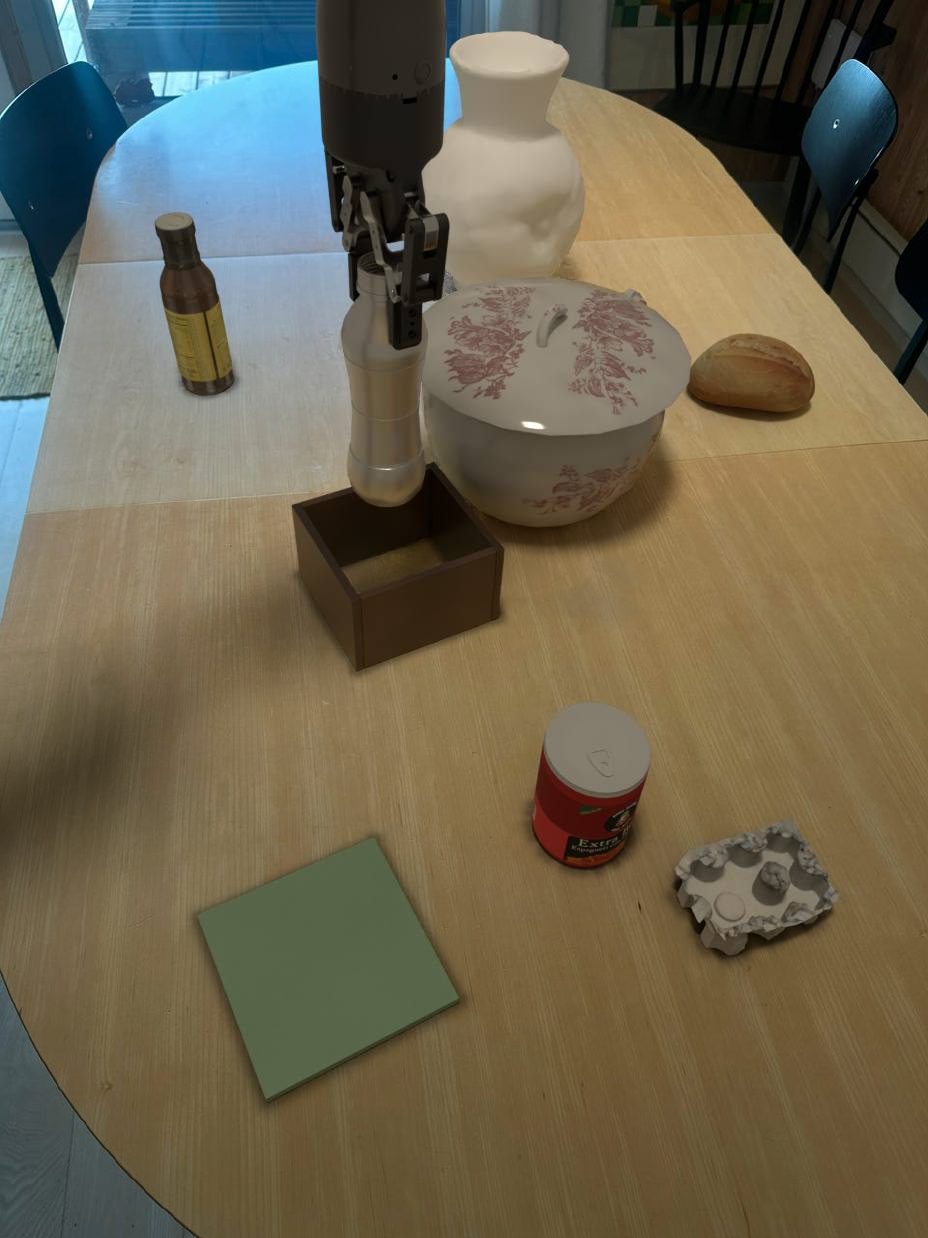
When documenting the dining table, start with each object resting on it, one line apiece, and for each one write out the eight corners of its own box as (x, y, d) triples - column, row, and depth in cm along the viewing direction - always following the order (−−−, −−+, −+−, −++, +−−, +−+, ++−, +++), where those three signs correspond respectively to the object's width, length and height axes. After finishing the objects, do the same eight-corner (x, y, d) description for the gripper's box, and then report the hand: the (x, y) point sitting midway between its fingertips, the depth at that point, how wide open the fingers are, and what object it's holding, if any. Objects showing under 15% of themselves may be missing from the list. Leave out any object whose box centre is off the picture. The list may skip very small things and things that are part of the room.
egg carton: (709, 967, 69) (722, 942, 66) (661, 875, 74) (672, 849, 71) (836, 923, 72) (854, 897, 69) (782, 837, 77) (797, 810, 74)
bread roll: (811, 432, 114) (833, 374, 108) (683, 416, 115) (698, 357, 109) (805, 386, 120) (825, 329, 114) (684, 371, 121) (698, 313, 115)
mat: (266, 1103, 62) (265, 1099, 62) (198, 919, 70) (196, 914, 70) (459, 1002, 67) (459, 998, 66) (374, 841, 75) (374, 836, 75)
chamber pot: (432, 585, 94) (436, 407, 79) (388, 418, 112) (384, 247, 97) (702, 552, 99) (755, 377, 84) (618, 397, 117) (649, 230, 102)
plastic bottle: (419, 463, 83) (422, 238, 69) (431, 514, 79) (437, 285, 64) (344, 469, 82) (331, 241, 68) (352, 521, 78) (340, 289, 63)
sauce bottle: (220, 361, 119) (193, 200, 104) (243, 386, 115) (218, 223, 101) (171, 377, 116) (136, 213, 101) (193, 403, 113) (160, 238, 98)
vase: (389, 287, 132) (384, 42, 110) (500, 240, 143) (517, 9, 121) (482, 345, 124) (498, 91, 101) (594, 291, 134) (630, 50, 112)
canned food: (569, 888, 73) (589, 811, 65) (510, 808, 78) (521, 727, 69) (647, 841, 76) (676, 762, 68) (586, 767, 80) (606, 685, 72)
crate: (356, 671, 86) (351, 602, 80) (299, 574, 94) (291, 504, 88) (498, 618, 92) (505, 548, 85) (432, 530, 99) (434, 461, 93)
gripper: (276, 33, 60) (297, 287, 72) (376, 117, 51) (380, 387, 64) (386, 21, 62) (388, 267, 75) (498, 99, 54) (479, 361, 66)
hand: (384, 321), depth 69 cm, fingers closed on plastic bottle, 6 cm apart
